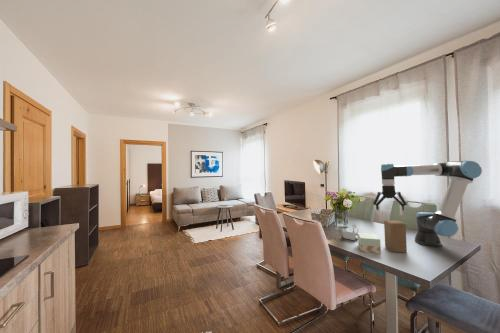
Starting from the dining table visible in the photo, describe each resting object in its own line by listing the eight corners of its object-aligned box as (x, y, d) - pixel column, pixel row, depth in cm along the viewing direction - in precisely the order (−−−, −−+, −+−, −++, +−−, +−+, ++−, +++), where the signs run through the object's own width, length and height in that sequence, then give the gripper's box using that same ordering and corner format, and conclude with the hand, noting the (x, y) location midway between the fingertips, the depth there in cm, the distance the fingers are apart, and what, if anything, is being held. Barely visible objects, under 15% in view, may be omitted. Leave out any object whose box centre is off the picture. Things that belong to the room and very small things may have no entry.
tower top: (376, 240, 150) (375, 234, 150) (380, 246, 139) (380, 239, 139) (357, 239, 154) (357, 232, 154) (360, 245, 143) (360, 238, 143)
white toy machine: (350, 223, 182) (364, 225, 173) (350, 234, 182) (364, 237, 173) (341, 227, 170) (355, 230, 162) (341, 239, 170) (355, 242, 161)
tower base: (376, 247, 150) (376, 240, 150) (380, 254, 138) (380, 246, 139) (358, 246, 154) (358, 239, 154) (361, 252, 143) (360, 245, 143)
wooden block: (407, 253, 138) (406, 223, 138) (391, 252, 140) (389, 223, 140) (399, 247, 148) (398, 220, 148) (384, 247, 150) (383, 219, 150)
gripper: (406, 184, 146) (408, 214, 145) (367, 185, 154) (369, 213, 153) (411, 185, 139) (413, 216, 138) (369, 185, 147) (371, 215, 146)
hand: (390, 214), depth 146 cm, fingers open, 13 cm apart
